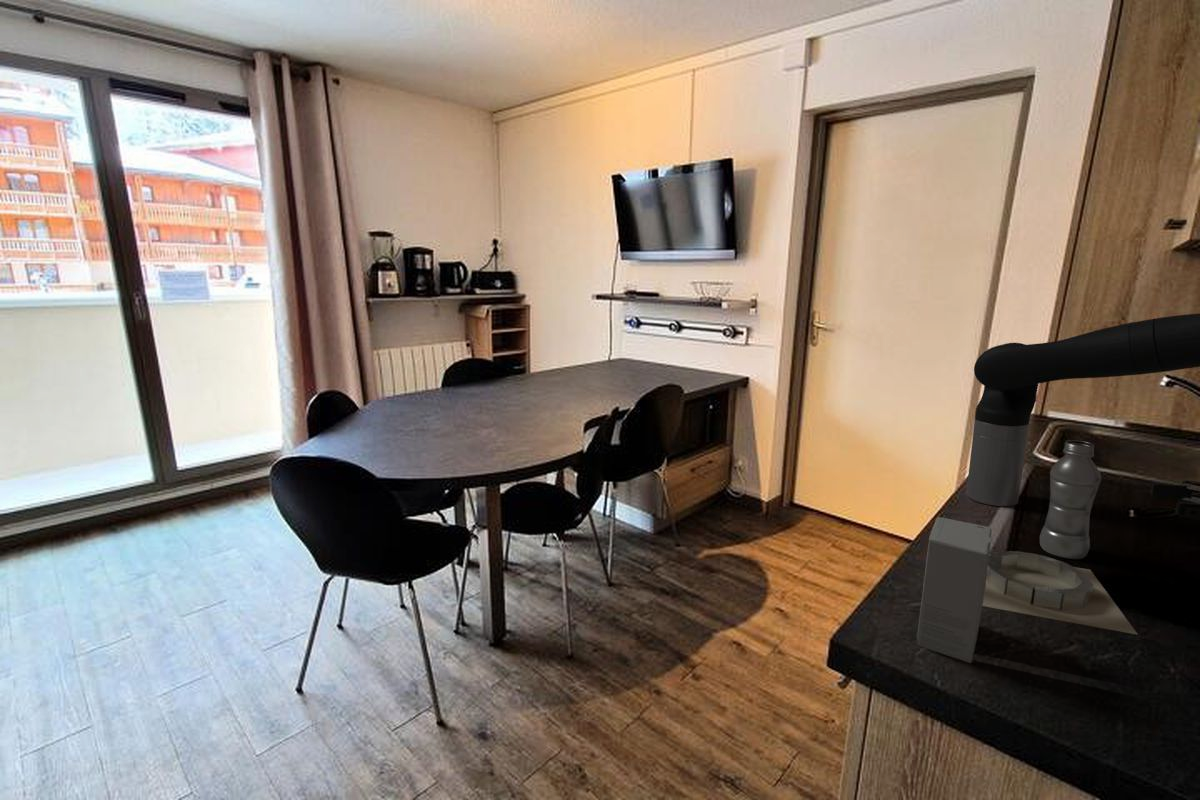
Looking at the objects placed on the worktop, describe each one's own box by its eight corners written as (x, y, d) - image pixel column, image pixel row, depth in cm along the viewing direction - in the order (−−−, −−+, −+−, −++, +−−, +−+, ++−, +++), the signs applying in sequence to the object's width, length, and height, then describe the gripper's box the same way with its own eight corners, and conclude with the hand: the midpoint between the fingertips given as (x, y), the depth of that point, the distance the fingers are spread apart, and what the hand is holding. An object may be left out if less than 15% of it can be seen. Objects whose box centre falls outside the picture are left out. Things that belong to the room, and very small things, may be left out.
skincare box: (924, 616, 79) (935, 514, 76) (980, 632, 75) (994, 526, 72) (914, 647, 73) (925, 537, 69) (975, 667, 69) (989, 551, 65)
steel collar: (979, 559, 92) (980, 545, 92) (1073, 574, 87) (1075, 559, 86) (993, 598, 81) (995, 582, 81) (1102, 617, 76) (1105, 601, 75)
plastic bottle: (1068, 547, 97) (1085, 437, 93) (1097, 566, 91) (1118, 449, 87) (1028, 546, 98) (1044, 437, 94) (1055, 565, 91) (1073, 449, 87)
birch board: (956, 554, 96) (956, 549, 96) (1089, 575, 88) (1090, 569, 88) (973, 610, 80) (973, 604, 80) (1136, 641, 72) (1138, 634, 72)
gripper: (1286, 473, 86) (1147, 462, 93) (1358, 506, 73) (1190, 491, 80) (1276, 518, 87) (1140, 504, 94) (1345, 559, 74) (1182, 540, 81)
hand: (1163, 498), depth 87 cm, fingers open, 8 cm apart
